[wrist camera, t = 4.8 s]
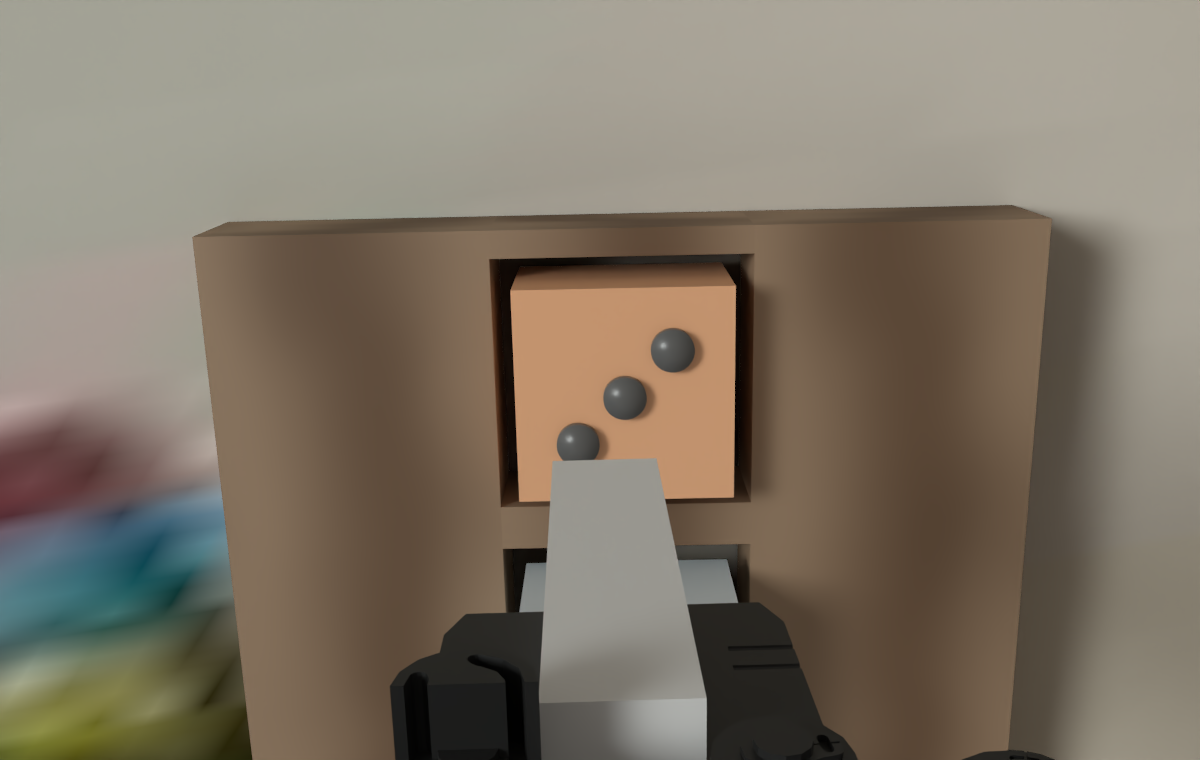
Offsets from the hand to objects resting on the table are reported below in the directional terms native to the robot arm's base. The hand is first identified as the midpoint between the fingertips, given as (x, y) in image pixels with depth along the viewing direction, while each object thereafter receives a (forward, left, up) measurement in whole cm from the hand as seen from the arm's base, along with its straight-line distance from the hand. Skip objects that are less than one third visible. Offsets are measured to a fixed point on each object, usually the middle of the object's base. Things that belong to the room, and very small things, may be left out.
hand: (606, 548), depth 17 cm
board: (0, -6, -11) cm, 13 cm away
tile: (0, 0, -11) cm, 11 cm away
